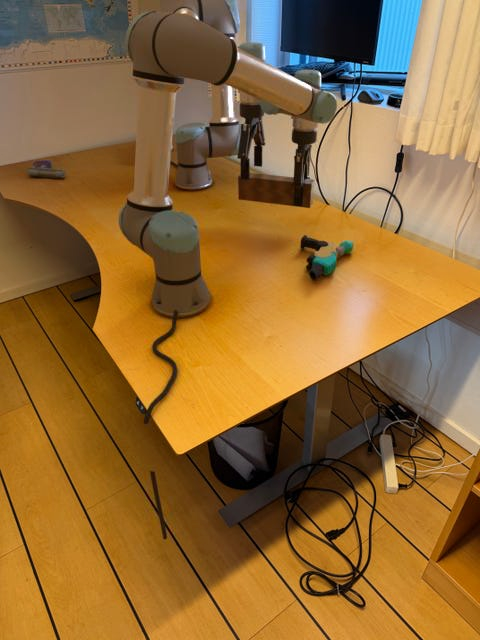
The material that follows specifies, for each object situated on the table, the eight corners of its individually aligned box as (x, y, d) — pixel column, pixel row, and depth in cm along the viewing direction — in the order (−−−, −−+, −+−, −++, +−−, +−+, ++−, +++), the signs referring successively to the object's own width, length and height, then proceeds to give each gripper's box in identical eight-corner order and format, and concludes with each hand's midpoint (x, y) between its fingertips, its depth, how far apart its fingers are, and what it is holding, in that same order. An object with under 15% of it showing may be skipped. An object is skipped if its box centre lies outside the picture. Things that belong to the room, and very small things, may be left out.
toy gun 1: (79, 169, 213) (62, 180, 201) (41, 166, 216) (22, 178, 205) (77, 160, 211) (60, 171, 199) (39, 158, 214) (20, 169, 202)
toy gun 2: (277, 262, 133) (328, 274, 127) (310, 227, 151) (356, 237, 146) (276, 276, 135) (326, 289, 130) (309, 240, 154) (354, 250, 148)
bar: (312, 203, 157) (314, 179, 152) (309, 208, 153) (311, 184, 149) (242, 194, 163) (242, 171, 159) (238, 199, 160) (238, 176, 155)
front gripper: (299, 120, 150) (295, 192, 163) (285, 134, 136) (281, 211, 150) (322, 122, 148) (316, 194, 161) (310, 137, 134) (305, 214, 148)
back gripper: (252, 93, 153) (252, 160, 166) (225, 110, 134) (227, 183, 147) (275, 95, 151) (273, 162, 164) (250, 112, 132) (250, 186, 145)
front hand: (299, 202), depth 156 cm, fingers closed on bar, 4 cm apart
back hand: (251, 172), depth 155 cm, fingers open, 13 cm apart
